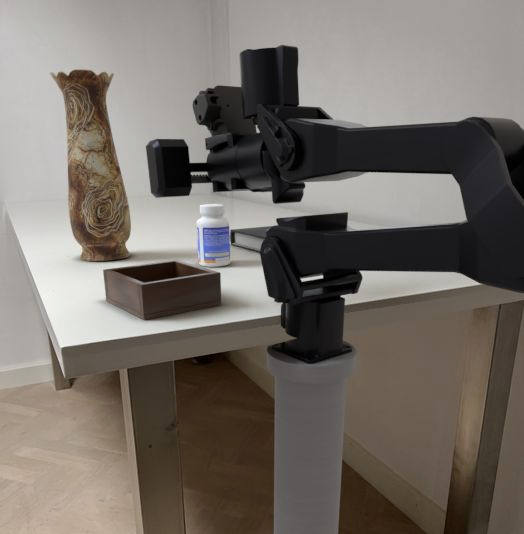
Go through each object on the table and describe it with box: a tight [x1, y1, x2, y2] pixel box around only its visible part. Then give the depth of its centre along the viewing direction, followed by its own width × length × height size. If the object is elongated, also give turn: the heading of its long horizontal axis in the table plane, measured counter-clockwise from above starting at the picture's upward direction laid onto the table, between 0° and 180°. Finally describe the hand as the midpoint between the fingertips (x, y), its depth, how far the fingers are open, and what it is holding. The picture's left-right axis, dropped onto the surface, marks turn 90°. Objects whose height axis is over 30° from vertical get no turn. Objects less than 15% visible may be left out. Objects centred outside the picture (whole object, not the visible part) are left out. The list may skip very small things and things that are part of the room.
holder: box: [102, 259, 222, 321], centre depth 69 cm, size 11×11×4 cm
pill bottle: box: [196, 203, 231, 268], centre depth 92 cm, size 5×5×10 cm
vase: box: [49, 68, 132, 262], centre depth 95 cm, size 10×11×30 cm
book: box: [229, 225, 273, 253], centre depth 112 cm, size 22×15×3 cm
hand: (190, 173), depth 74 cm, fingers open, 9 cm apart
